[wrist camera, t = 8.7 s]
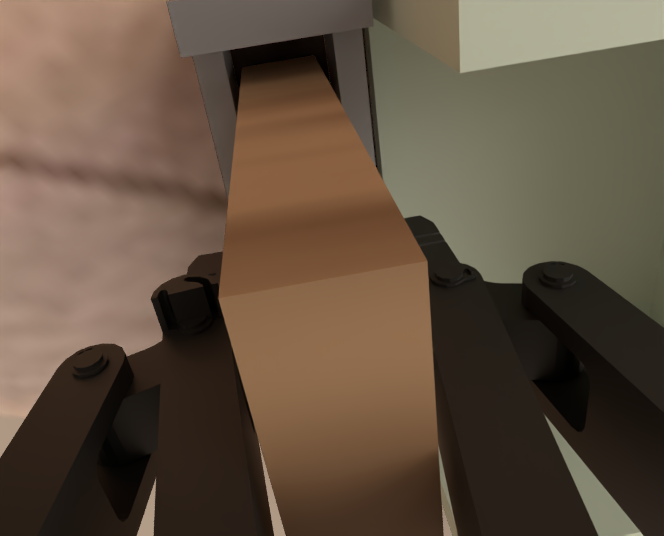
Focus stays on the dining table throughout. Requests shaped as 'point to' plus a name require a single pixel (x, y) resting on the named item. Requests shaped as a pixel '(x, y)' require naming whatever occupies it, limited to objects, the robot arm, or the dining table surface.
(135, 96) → the dining table surface
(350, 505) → the door panel
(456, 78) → the cabinet
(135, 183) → the dining table surface
